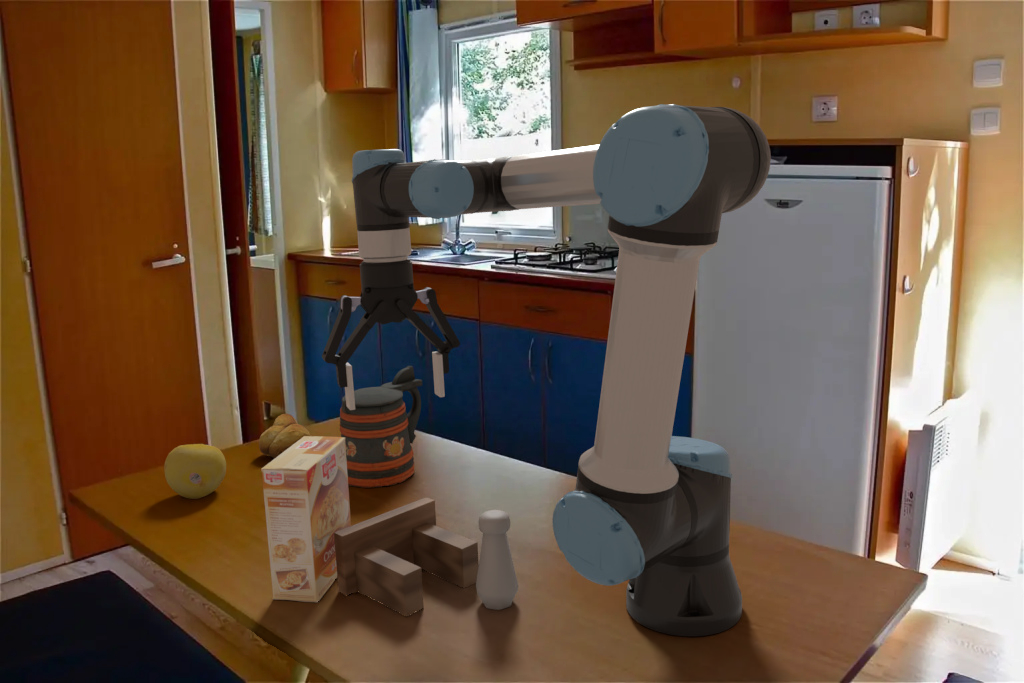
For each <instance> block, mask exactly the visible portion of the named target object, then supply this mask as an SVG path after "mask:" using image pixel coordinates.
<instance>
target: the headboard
mask: <svg viewBox="0 0 1024 683" xmlns="http://www.w3.org/2000/svg"><path fill="white" fill-rule="evenodd" d="M334 540H335V553H336V565H337V578H336V579H337V588H338V589H337V590H338V592H339V593H340V592H341V593H340V594H342V593H343V594H342V595H344V594H345V595H344V596H346V595H349V594H351V593H353V592H355V593H357V592H356V591H359V592H360V593H359V592H358V593H359V594H361V593H362V594H361V595H363V594H365V595H367V596H369V597H371V598H372V599H375V600H376V601H379V602H381V603H383V604H384V605H386V606H388V607H390V608H392V609H394V610H396V611H398V612H400V613H401V614H403V615H405V616H408V617H410V616H411V615H410V614H412V613H414V612H415V611H418V610H420V609H422V608H424V590H423V576H422V575H423V572H422V571H424V570H426V571H428V572H430V573H429V574H431V573H433V574H435V575H437V576H439V577H438V578H440V577H441V578H440V579H442V578H443V580H444V579H445V580H444V581H446V580H448V581H447V582H449V581H450V582H449V583H451V582H452V583H451V584H453V583H454V584H453V585H455V584H456V585H455V586H457V585H458V587H460V586H461V587H460V588H462V587H463V588H462V589H466V588H468V587H470V586H472V585H474V584H476V582H477V574H478V567H479V549H478V548H479V546H478V545H479V544H478V541H476V540H474V539H471V538H469V537H466V536H464V535H460V534H458V533H456V532H453V531H450V530H447V529H445V528H442V527H440V526H437V516H436V499H432V498H430V497H428V496H427V497H422V498H421V499H418V500H415V501H413V502H410V503H407V504H405V505H402V506H400V507H397V508H394V509H392V510H389V511H386V512H384V513H382V514H379V515H377V516H374V517H371V518H368V519H366V520H363V521H360V522H358V523H355V524H353V525H352V524H351V526H350V527H347V528H345V529H342V530H339V531H337V532H334ZM422 569H424V570H422ZM426 571H425V572H426ZM428 572H427V573H428ZM433 574H432V575H433ZM435 575H434V576H435ZM437 576H436V577H437ZM465 587H466V588H465ZM353 594H354V593H353ZM351 595H352V594H351ZM365 595H364V596H365ZM349 596H350V595H349ZM372 599H371V600H372ZM376 601H375V602H376ZM384 605H383V606H384ZM386 606H385V607H386ZM388 607H387V608H388ZM390 608H389V609H390ZM392 609H391V610H392ZM394 610H393V611H394ZM422 610H423V609H422ZM396 611H395V612H396ZM420 611H421V610H420ZM398 612H397V613H398ZM418 612H419V611H418ZM400 613H399V614H400ZM401 614H400V615H401ZM414 614H415V613H414ZM403 615H402V616H403ZM409 615H410V616H409ZM412 615H413V614H412ZM405 616H404V617H405Z"/></svg>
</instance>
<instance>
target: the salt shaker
mask: <svg viewBox="0 0 1024 683" xmlns="http://www.w3.org/2000/svg"><path fill="white" fill-rule="evenodd" d="M477 522H478V529H479V532H481V533H482V538H481V545H480V553H479V558H478V563H479V567H478V574H477V582H476V583H475V588H476V593H477V596H478V597H479V599H480V600H481V602H482V603H483V605H484V606H485V608H486V609H491V610H496V611H501V610H504V609H506V608H510V607H511V606H512V604H513V601H514V598H515V597H516V595H517V593H518V591H519V582H518V578H517V574H516V569H515V564H514V558H513V557H512V556H513V555H512V552H511V548H510V547H511V546H510V542H509V538H508V534H507V533H508V531H509V530H510V528H511V519H510V514H508V513H507V512H506V511H504V510H500V509H490V510H486V511H483V513H481V514H480V516H479V517H478V521H477Z"/></svg>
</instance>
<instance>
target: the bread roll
mask: <svg viewBox="0 0 1024 683" xmlns="http://www.w3.org/2000/svg"><path fill="white" fill-rule="evenodd" d="M303 436H312V435H311V434H310V432H309V430H308V429H307V428H306V427H305V426H304V425H302V424H300V423H298V421H297V420H296V417H294V416H293V415H292V414H289V413H282V414H280V415H278V416H277V417H276V418H275V420H274V422H273V424H272V426H270V427H269V428H267V429H266V430H265V431H264V432H262V433H261V435H260V437H259V438H258V439H259V440H258V448H259V451H260V453H262V454H263V455H264V456H268V457H271V458H273V459H275V458H276V457H277V456H279V455H280V454H281V453H283V452H284V451H285V450H287V449H288V448H289V447H291V446H292V445H293V444H295V443H296V442H297V441H299V440H300V439H301V438H302V437H303Z"/></svg>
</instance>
